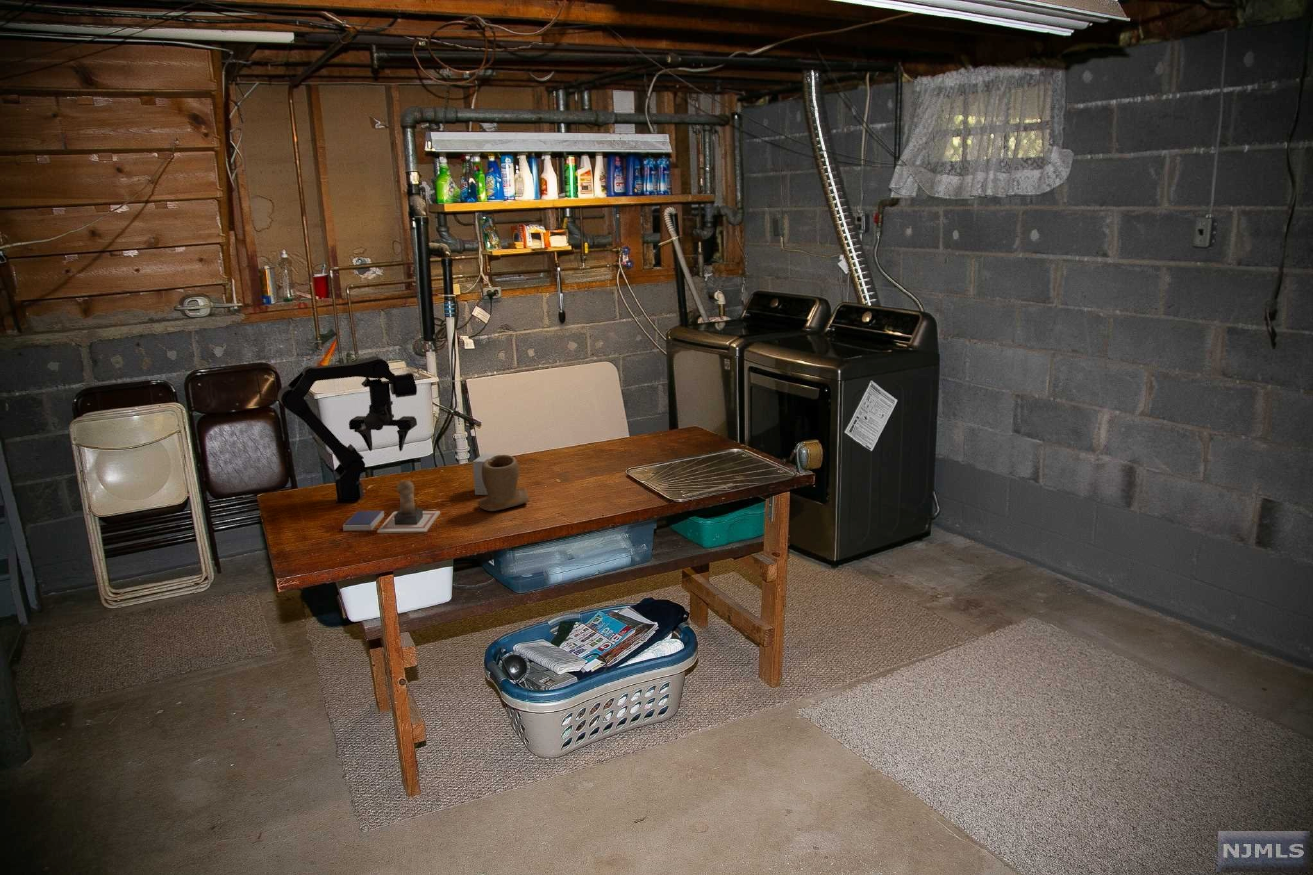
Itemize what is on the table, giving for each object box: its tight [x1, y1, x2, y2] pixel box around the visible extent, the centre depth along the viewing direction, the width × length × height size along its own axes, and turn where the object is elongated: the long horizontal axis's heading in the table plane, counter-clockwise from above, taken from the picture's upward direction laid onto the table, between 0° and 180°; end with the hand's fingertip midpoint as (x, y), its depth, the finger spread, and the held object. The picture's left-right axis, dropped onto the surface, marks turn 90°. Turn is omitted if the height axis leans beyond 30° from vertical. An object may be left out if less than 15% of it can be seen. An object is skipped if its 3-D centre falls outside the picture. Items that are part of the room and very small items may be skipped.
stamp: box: [394, 479, 423, 525], centre depth 246 cm, size 6×6×12 cm
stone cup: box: [477, 454, 531, 512], centre depth 257 cm, size 15×12×15 cm
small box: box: [472, 453, 498, 496], centre depth 271 cm, size 8×6×10 cm
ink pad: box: [342, 510, 385, 532], centre depth 248 cm, size 8×11×2 cm
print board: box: [376, 510, 441, 534], centre depth 248 cm, size 13×15×1 cm
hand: (385, 450), depth 270 cm, fingers open, 9 cm apart
